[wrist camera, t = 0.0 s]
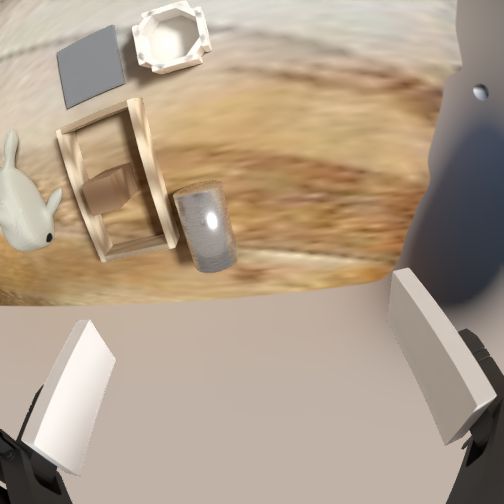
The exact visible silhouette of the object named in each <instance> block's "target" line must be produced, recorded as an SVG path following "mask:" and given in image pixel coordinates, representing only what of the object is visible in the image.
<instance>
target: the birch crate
mask: <svg viewBox="0 0 504 504" xmlns="http://www.w3.org/2000/svg"><path fill="white" fill-rule="evenodd" d="M127 109H129V113H130V117H131V121H132V125H133V129H134V133H135V137H136V141H137V145H138V148H139V152H140V156H141V159H142V163H143V166H144V170H145V173H146V177H147V180H148V184H149V187H150V190H151V194H152V197H153V200H154V203H155V206H156V210H157V213H158V216H159V219H160V222H161V225H162V228H163V231H164V234H161V235H156V236H151V237H147V238H142V239H138V240H133V241H129V242H124V243H120V244H115V245H113V244H112V242H111V239H110V237H109V234H108V231H107V229H106V226H105V224H104V221H103V218H102V216H101V214H99V215H96V216H92V214H91V211H90V209H89V206H88V203H87V200H86V197H85V194H84V192H83V189H82V185H83V184H85V183H86V182H88V181H89V178H88V175H87V172H86V168H85V165H84V162H83V159H82V155H81V152H80V148H79V144H78V141H77V137H76V133H75V130H77V129H80V128H82V127H84V126H86V125H89V124H91V123H93V122H96V121H98V120H101V119H103V118H106V117H108V116H111V115H113V114H116V113H119V112H121V111H124V110H127ZM56 134H57V138H58V142H59V145H60V149H61V152H62V156H63V159H64V163H65V166H66V169H67V172H68V176H69V179H70V182H71V185H72V188H73V191H74V194H75V196H76V199H77V202H78V205H79V208H80V210H81V213H82V216H83V218H84V221H85V223H86V226H87V228H88V231H89V233H90V236H91V238H92V241H93V243H94V245H95V248H96V250H97V252H98V255H99V257H100V259H101V261H102V262H107V261H111V260H116V259H121V258H126V257H131V256H136V255H141V254H146V253H151V252H156V251H161V250H166V249H171V248H175V247H176V245H177V242H178V240H179V237H180V234H179V231H178V228H177V224H176V221H175V218H174V215H173V211H172V208H171V205H170V201H169V198H168V195H167V191H166V188H165V184H164V181H163V177H162V174H161V170H160V167H159V163H158V159H157V155H156V152H155V148H154V144H153V140H152V136H151V132H150V128H149V124H148V120H147V116H146V112H145V108H144V103H143V99H142V98H132V99H129V100H126V101H124V102H121V103H118V104H116V105H113V106H110V107H108V108H105V109H103V110H101V111H98V112H96V113H93V114H91V115H89V116H87V117H84V118H82V119H80V120H78V121H76V122H73V123H71V124H69V125H67V126H65V127H63V128H61V129H59V130H57V131H56Z"/></svg>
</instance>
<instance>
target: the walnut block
mask: <svg viewBox="0 0 504 504" xmlns="http://www.w3.org/2000/svg"><path fill="white" fill-rule="evenodd" d="M82 189H83V192H84V194H85V197H86V200H87V203H88V206H89V209H90V211H91V214H92V216H96V215H99V214H103V213H106V212H110V211H113V210H117V209H120V208H121V207H122V206H123V205H124V204H125V203H126V202H127V201H128V200H129V199H130V198H131V197H132V196H133V195H134V194H135V193H136V192H137V191H138V190H139V189H138V186H137V183H136V180H135V176H134V173H133V170H132V166H131V163H127V164H123V165H120V166H117V167H114V168H111V169H108V170H105V171H104V172H102V173H100V174H99V175H97V176H96V177H94V178H92V179H91V180H89V181H88V182H86V183H85V184H83V185H82Z"/></svg>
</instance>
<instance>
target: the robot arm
mask: <svg viewBox="0 0 504 504" xmlns="http://www.w3.org/2000/svg"><path fill="white" fill-rule="evenodd" d="M387 323H388V325H389V327H390V328H391V330H392V332H393V334H394V336H395V338H396V340H397V342H398V344H399V346H400V348H401V350H402V352H403V354H404V356H405V358H406V360H407V362H408V364H409V366H410V367H411V370H412V372H413V374H414V376H415V378H416V380H417V382H418V384H419V387H420V389H421V391H422V393H423V395H424V397H425V400H426V402H427V404H428V406H429V409H430V411H431V413H432V415H433V418H434V420H435V423H436V425H437V427H438V430H439V432H440V434H441V437H442V440H443V442H444V445H445V446H446V445H448V444H449V443H452V442H454V441H456V440H458V439H460V438H462V437H463V436H464V435H465V434H466V433H467V432H468V430H470V432H471V434H472V436H471V437H470V438H469V439H468V440H467V441H466V442H465V443H464V444H463V446H462V448H461V449H464V448H466V447H467V446H468V447H467V450H466V453H465V456H464V459H463V462H462V465H461V468H460V471H459V473H458V476H457V479H456V481H455V483H454V486H453V488H452V491H451V493H450V495H449V498H448V500H447V502H446V504H504V375H503V374H502V373H501V371H500V369H499V368H498V366H497V364H496V363H495V361H494V360H493V358H492V357H490V354H489V352H488V351H487V349H485V348H484V345H483V344H482V342H481V341H480V339H479V338H478V337H477V336H476V335H475V334H474V333H472V332H471V331H469V330H468V329H464V330H461V331H459V332H457V331H456V329H455V328H454V327H453V325H452V324H451V322H450V321H449V320H448V318H447V317H446V315H445V314H444V313H443V311H442V310H441V309H440V307H439V306H438V304H437V303H436V302H435V300H434V299H433V298H432V297H431V295H430V294H429V293H428V292H427V290H426V289H425V288H424V286H423V285H422V284H421V282H420V281H419V280H418V279H417V277H416V276H415V275H414V274H413V272H412V271H411V270H410V269H409V268H405V269H401V270H396V271H393V275H392V284H391V293H390V300H389V308H388V315H387ZM115 360H116V359H115V358H114V356H113V355H112V354H111V352H110V351H109V349H108V348H107V346H106V344H105V343H104V341H103V340H102V338H101V337H100V335H99V334H98V332H97V330H96V329H95V327H94V325H93V324H92V322H91V321H90V319H87V320H78V321H77V322H76V324H75V326H74V328H73V330H72V331H71V333H70V335H69V337H68V339H67V340H66V342H65V344H64V346H63V348H62V350H61V352H60V354H59V356H58V358H57V360H56V361H55V364H54V365H53V367H52V369H51V371H50V374H49V376H48V378H47V380H46V382H45V384H44V385H43V386H42V387H41V388H40V389H39V391H38V392H37V393H36V395H35V397H34V399H33V402H32V405H31V406H30V408H29V412H28V413H27V415H26V418H25V420H24V422H23V425H22V428H21V430H20V433H19V435H18V438H17V440H16V441H15V440H14V439H12V438H11V437H10V436H9V435H8V434H6V433H5V432H4V431H3V430H2V429H0V481H2V482H3V483H5V484H6V487H7V490H6V489H4V488H3V487H1V486H0V504H72V501H71V499H70V497H69V495H68V492H67V490H66V487H65V485H64V482H63V480H62V477H61V476H60V474H59V472H57V471H56V470H57V467H59V468H60V469H62V470H63V471H65V472H66V473H69V474H73V475H76V476H80V474H81V470H82V466H83V462H84V459H85V455H86V450H87V448H88V444H89V440H90V437H91V433H92V430H93V427H94V423H95V420H96V417H97V414H98V410H99V407H100V404H101V401H102V398H103V395H104V392H105V389H106V386H107V383H108V380H109V377H110V374H111V372H112V369H113V366H114V363H115Z"/></svg>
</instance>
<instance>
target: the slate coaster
mask: <svg viewBox="0 0 504 504" xmlns="http://www.w3.org/2000/svg"><path fill="white" fill-rule="evenodd" d="M57 56H58V63H59V69H60V75H61V81H62V86H63V91H64V96H65V101H66V105H67V108H70V107H72V106H74V105H76V104H79V103H81V102H83V101H85V100H87V99H89V98H92V97H94V96H96V95H98V94H101V93H103V92H105V91H108V90H110V89H113V88H115V87H118V86H120V85H123V84H125V80H124V75H123V70H122V65H121V60H120V55H119V50H118V44H117V38H116V33H115V26H114V25H111V26H108V27H106V28H104V29H102V30H99V31H97V32H95V33H93V34H91V35H89V36H87V37H85V38H83V39H81V40H79V41H77V42H75V43H73V44H72V45H70V46H68V47H66V48H64V49H62V50H61V51H59V52H57Z"/></svg>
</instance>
